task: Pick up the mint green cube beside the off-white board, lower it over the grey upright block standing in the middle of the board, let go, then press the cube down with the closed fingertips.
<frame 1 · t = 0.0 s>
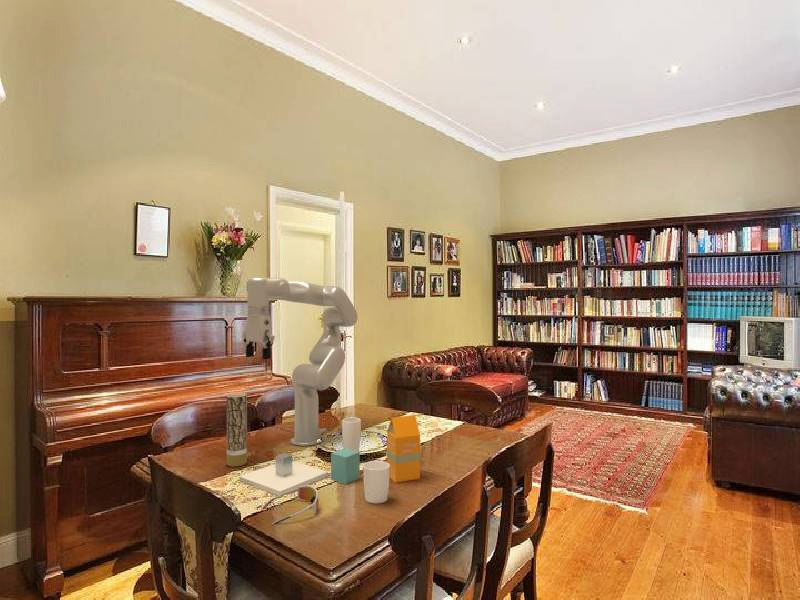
hand: (258, 357, 181), 37 cm above the table, tool pointing down, fingers open, 9 cm apart
sunglasses: (292, 512, 137), on the table
grey upright block: (284, 464, 160), on the post board, point 4 cm above the table
orange juice: (403, 477, 163), on the table
mint green cube: (345, 478, 161), on the table
drinking glass 2: (351, 461, 178), on the table
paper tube: (236, 464, 174), on the table
post board: (284, 478, 160), on the table
white cup: (376, 499, 145), on the table
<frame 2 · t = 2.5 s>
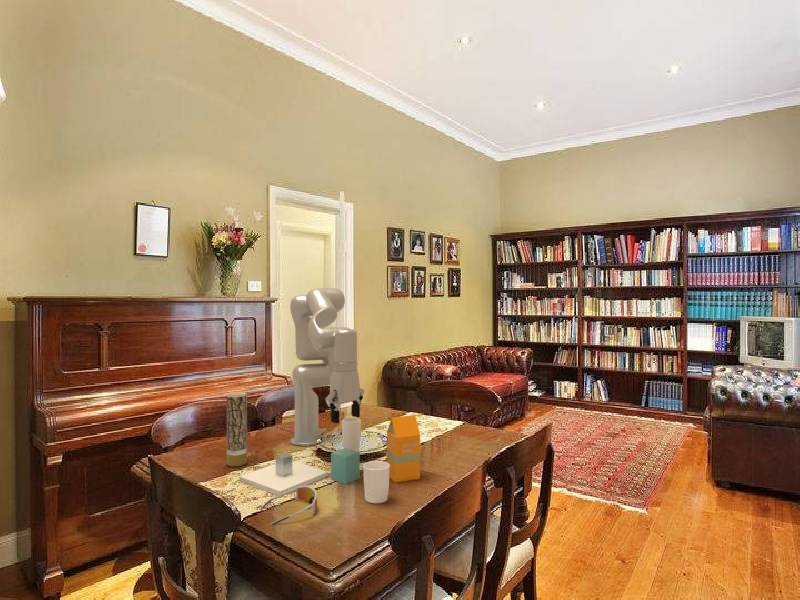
hand: (345, 419, 160), 19 cm above the table, tool pointing down, fingers open, 9 cm apart
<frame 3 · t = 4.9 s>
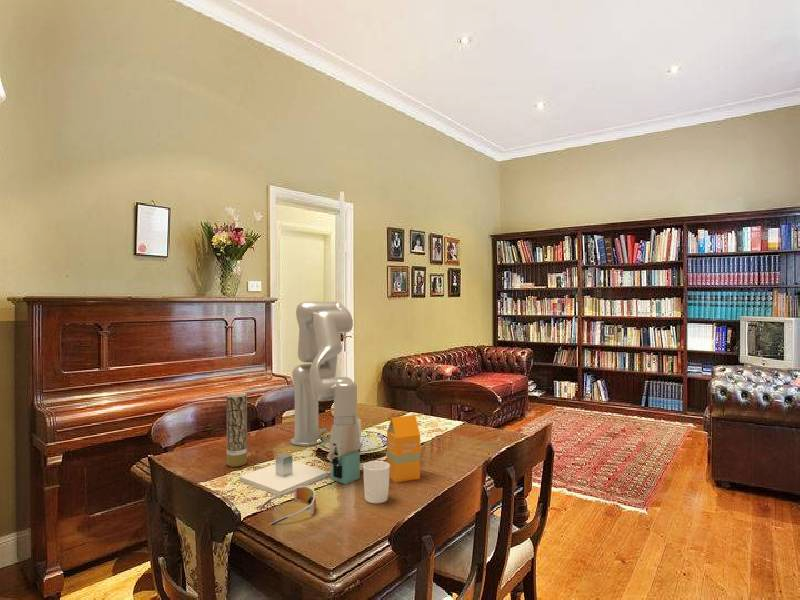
hand: (345, 473, 160), 2 cm above the table, tool pointing down, fingers closed on mint green cube, 6 cm apart
mint green cube: (345, 478, 161), on the table, touching gripper
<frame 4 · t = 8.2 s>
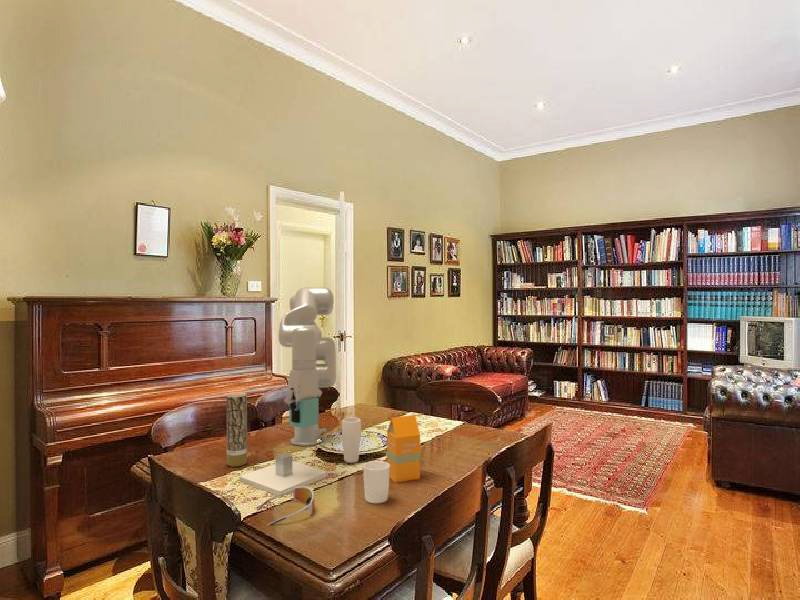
hand: (303, 419, 160), 19 cm above the table, tool pointing down, fingers closed on mint green cube, 6 cm apart
mint green cube: (304, 424, 160), point 18 cm above the table, touching gripper
when the fingers open (4 cm above the table, at t = 11.8 s): mint green cube stays where it is, resting on post board.
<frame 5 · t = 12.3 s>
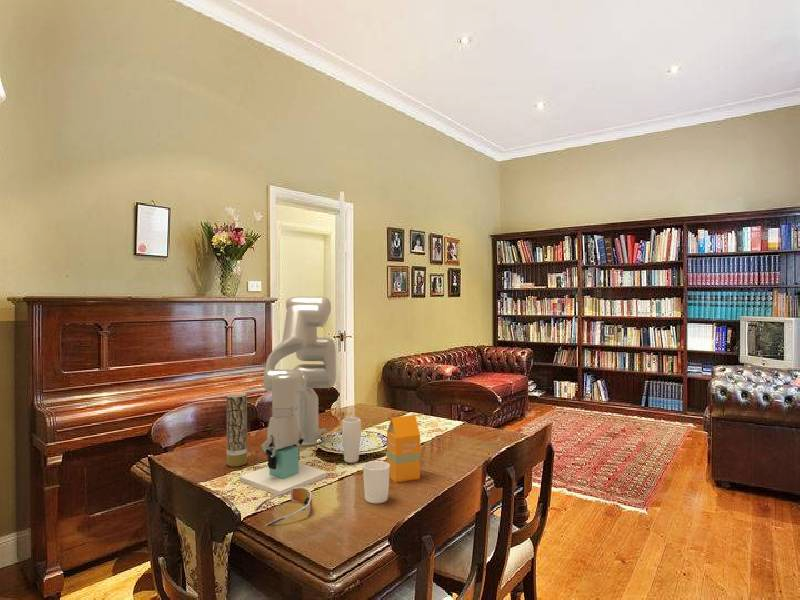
hand: (284, 464, 160), 5 cm above the table, tool pointing down, fingers open, 9 cm apart
mint green cube: (284, 474, 160), point 1 cm above the table, touching post board
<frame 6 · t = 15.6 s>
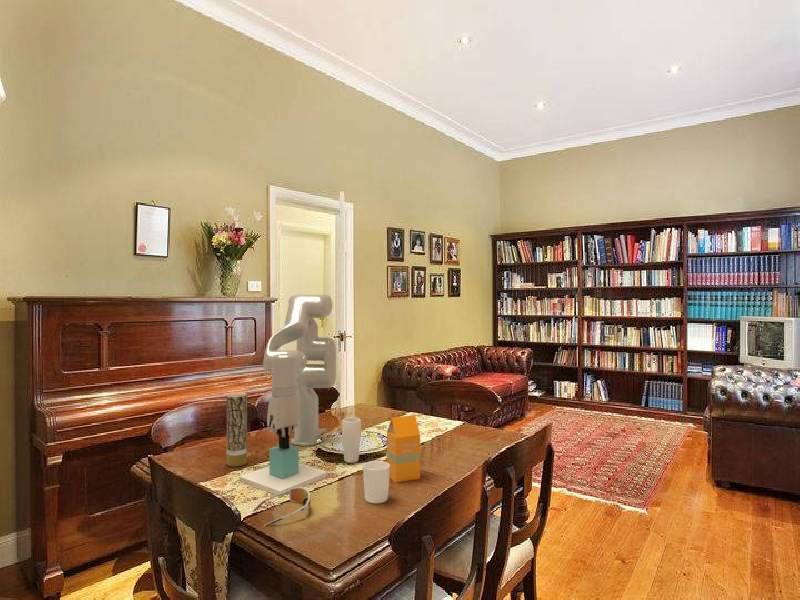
hand: (284, 447, 160), 10 cm above the table, tool pointing down, fingers closed
mint green cube: (284, 474, 160), point 1 cm above the table, touching gripper, post board
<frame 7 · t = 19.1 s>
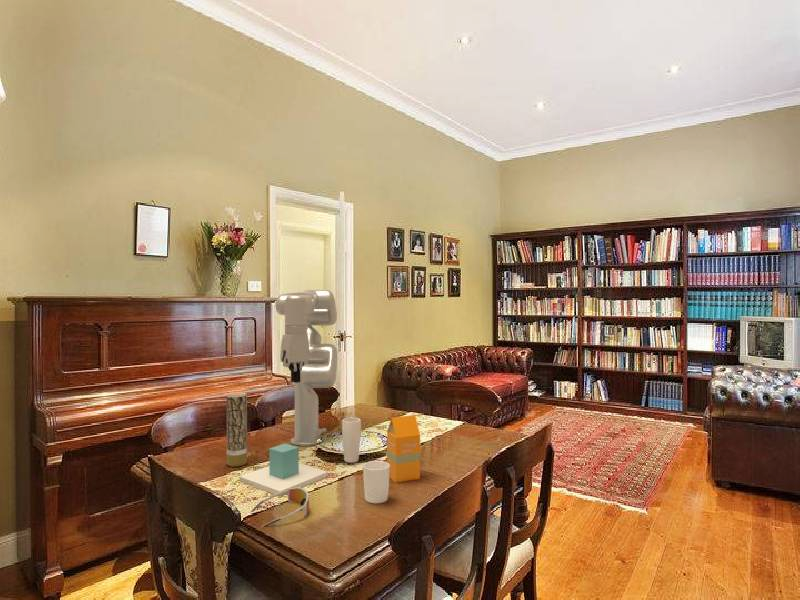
hand: (295, 381, 174), 29 cm above the table, tool pointing down, fingers closed
mint green cube: (284, 474, 160), point 1 cm above the table, touching post board
at the end: mint green cube 0.0 cm from the grey upright block (horizontally); mint green cube point 1.5 cm above the table; the gripper is holding nothing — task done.
